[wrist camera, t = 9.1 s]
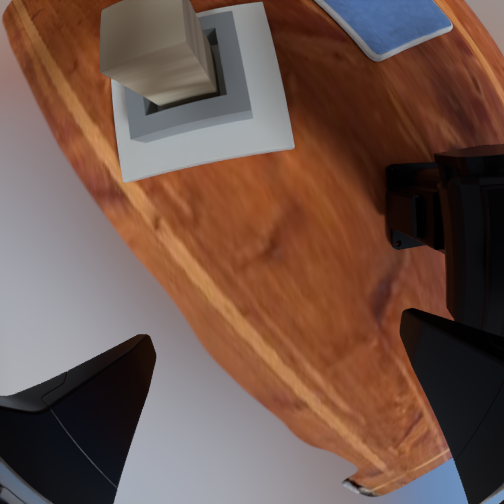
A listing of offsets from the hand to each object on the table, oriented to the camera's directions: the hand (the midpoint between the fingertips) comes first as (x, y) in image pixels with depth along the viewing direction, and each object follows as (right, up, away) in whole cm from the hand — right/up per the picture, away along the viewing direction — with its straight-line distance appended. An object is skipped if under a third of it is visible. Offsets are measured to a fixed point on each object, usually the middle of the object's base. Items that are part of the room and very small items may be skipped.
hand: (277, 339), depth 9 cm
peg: (-5, +14, +7) cm, 17 cm away
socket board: (-5, +15, +8) cm, 18 cm away
